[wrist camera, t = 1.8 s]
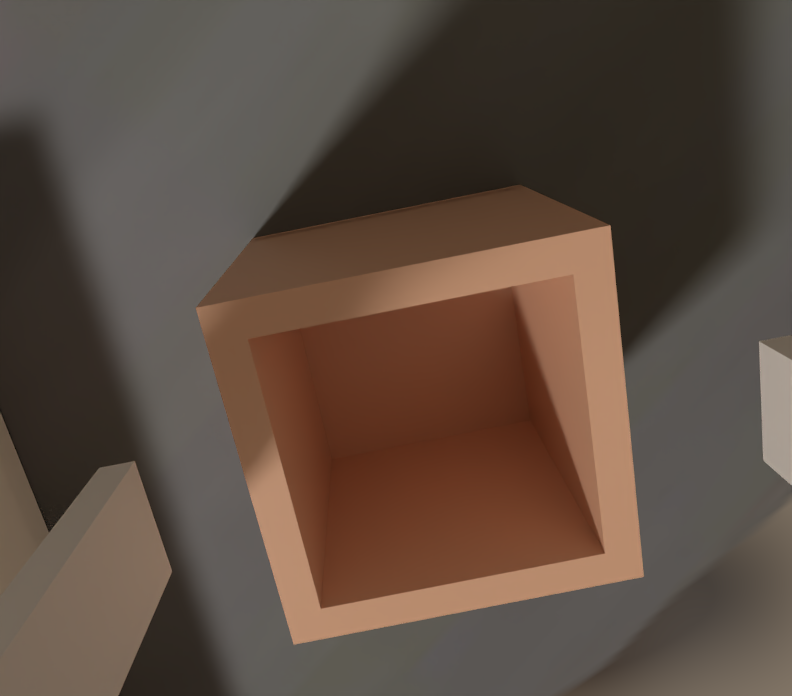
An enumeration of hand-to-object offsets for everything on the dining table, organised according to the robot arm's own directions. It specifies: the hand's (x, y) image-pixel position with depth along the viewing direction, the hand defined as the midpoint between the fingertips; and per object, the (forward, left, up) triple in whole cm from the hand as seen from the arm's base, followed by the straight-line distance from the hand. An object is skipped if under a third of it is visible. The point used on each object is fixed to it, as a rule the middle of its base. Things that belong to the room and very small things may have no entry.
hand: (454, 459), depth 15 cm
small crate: (0, 0, -8) cm, 8 cm away
